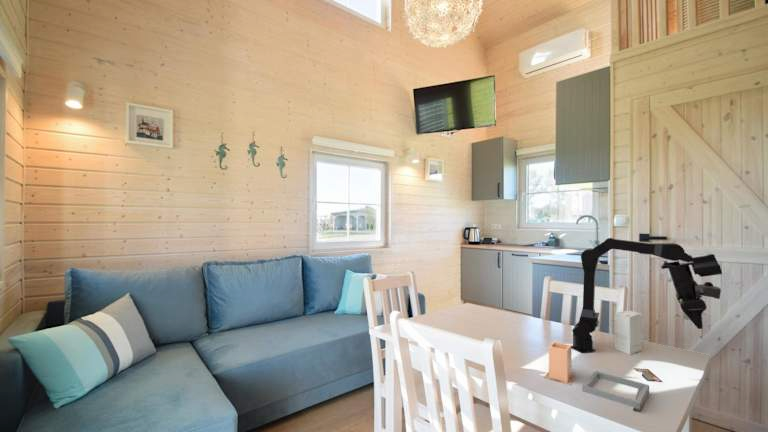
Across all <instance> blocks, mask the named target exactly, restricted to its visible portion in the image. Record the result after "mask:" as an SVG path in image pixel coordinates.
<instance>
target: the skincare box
mask: <svg viewBox="0 0 768 432" xmlns="http://www.w3.org/2000/svg"><path fill="white" fill-rule="evenodd" d="M642 320H643V314H642V313H641V312H638V311H633V310H630V309H626V310H621V311H617V312H615V313H614V350H616V351H617V352H621V353H624V354H627V355H632V354H636V353H639V352H641V351H643V321H642Z"/></svg>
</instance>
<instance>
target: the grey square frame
mask: <svg viewBox="0 0 768 432" xmlns="http://www.w3.org/2000/svg"><path fill="white" fill-rule="evenodd" d="M598 379H601V380H604V381H605V380H606V381H609V382H612V383H616V384H620V385H624V386H627V387H631V388H634V389H637V393H636V396H635V399H632V398H629V397H627V396H623V395H622V396H621V395H620V394H615V393H612V392H608V391H606V390H601V389H599V388H595V387H593V385H594V384H595V383H596V381H597V380H598ZM581 391H582V392H584V393H586V394H590V395H594V396H597V397H600V398H602V399H606V400H609V401H613V402H617V403H619V404H622V405H625V406H628V407H632V411H635V412H636V413H641V411H642V409H643V407H644V405H645V404H646V401H647V400H648V398H649V395H650V385H649V384H646V383H642V382H639V381H635V380H632V379H628V378H624V377H619V376H617V375H612V374H609V373H605V372H600V371H597V370H595V371H594V373H592V374H591V376H589V378H588V379H587V380H586V381H585V382H584V383H583V385H581Z"/></svg>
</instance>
